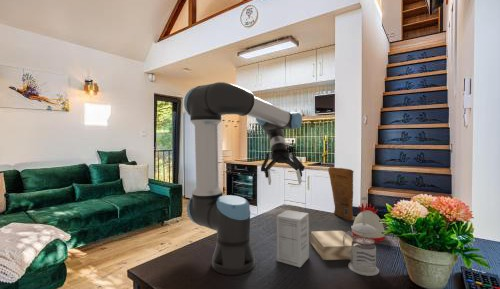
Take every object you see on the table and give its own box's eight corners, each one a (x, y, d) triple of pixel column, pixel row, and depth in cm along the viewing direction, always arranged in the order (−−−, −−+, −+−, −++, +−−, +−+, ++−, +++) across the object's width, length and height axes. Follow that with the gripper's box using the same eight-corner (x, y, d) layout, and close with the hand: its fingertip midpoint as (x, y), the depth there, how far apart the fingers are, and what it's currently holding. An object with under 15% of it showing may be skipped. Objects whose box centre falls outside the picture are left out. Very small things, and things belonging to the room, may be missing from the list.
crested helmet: (353, 228, 125) (353, 198, 125) (384, 233, 119) (385, 201, 119) (350, 238, 113) (350, 205, 113) (385, 244, 107) (385, 209, 106)
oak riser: (323, 260, 92) (323, 246, 92) (310, 243, 107) (310, 231, 107) (360, 258, 93) (360, 245, 93) (342, 242, 108) (342, 230, 108)
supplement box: (309, 257, 95) (310, 213, 94) (300, 268, 87) (301, 219, 86) (286, 251, 100) (286, 209, 99) (275, 261, 92) (275, 215, 91)
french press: (383, 277, 81) (384, 200, 81) (345, 273, 83) (346, 198, 83) (374, 262, 91) (375, 193, 90) (340, 259, 93) (341, 192, 92)
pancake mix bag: (347, 222, 134) (348, 169, 133) (326, 212, 152) (327, 166, 151) (358, 221, 136) (358, 169, 135) (336, 211, 154) (336, 165, 153)
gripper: (301, 152, 129) (310, 187, 115) (253, 152, 127) (256, 188, 112) (304, 142, 124) (315, 177, 109) (254, 142, 122) (257, 178, 107)
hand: (285, 182), depth 111 cm, fingers open, 13 cm apart
